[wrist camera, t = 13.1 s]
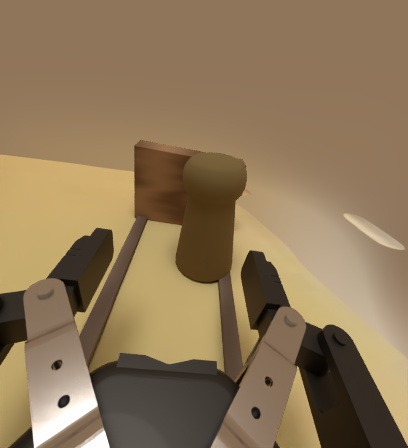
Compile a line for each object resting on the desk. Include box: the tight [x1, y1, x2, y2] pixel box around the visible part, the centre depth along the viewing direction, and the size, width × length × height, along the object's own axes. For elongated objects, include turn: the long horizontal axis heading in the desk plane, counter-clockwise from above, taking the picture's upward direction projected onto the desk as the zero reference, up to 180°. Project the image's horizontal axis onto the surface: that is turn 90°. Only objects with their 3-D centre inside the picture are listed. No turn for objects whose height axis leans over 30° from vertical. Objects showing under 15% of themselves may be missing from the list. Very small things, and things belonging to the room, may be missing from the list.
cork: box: [176, 153, 247, 282], centre depth 19 cm, size 6×6×11 cm
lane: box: [79, 140, 246, 381], centre depth 16 cm, size 12×26×9 cm, turn 0°
